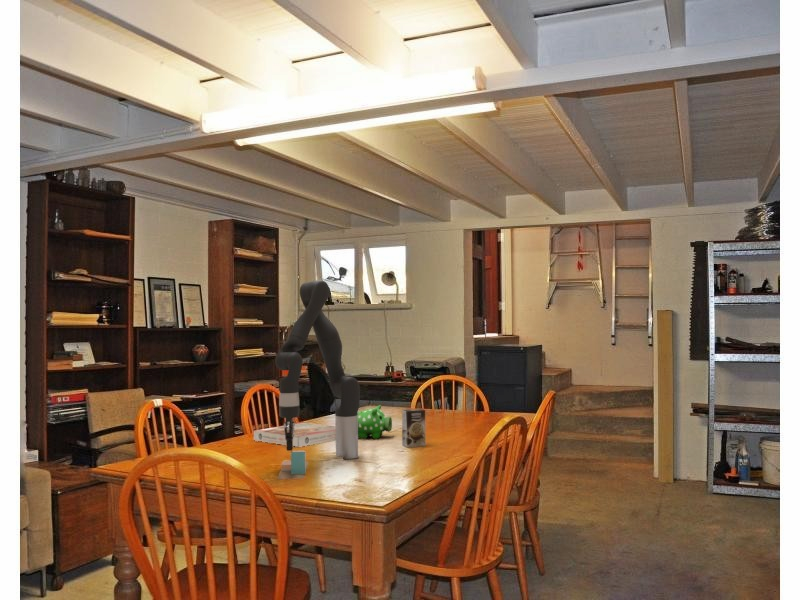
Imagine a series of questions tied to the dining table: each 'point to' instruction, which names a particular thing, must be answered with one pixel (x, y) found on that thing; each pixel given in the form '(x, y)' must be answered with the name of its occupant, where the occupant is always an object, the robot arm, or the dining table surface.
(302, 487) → the dining table surface
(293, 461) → the tile
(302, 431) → the pizza box
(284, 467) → the tile
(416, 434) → the coffee box
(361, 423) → the piggy bank
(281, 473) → the board
